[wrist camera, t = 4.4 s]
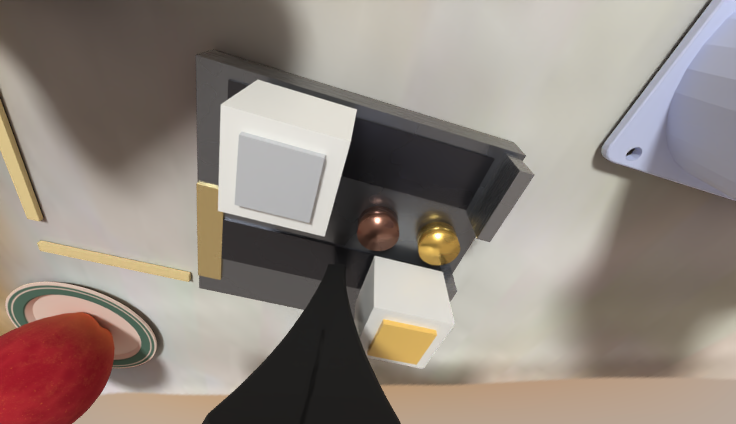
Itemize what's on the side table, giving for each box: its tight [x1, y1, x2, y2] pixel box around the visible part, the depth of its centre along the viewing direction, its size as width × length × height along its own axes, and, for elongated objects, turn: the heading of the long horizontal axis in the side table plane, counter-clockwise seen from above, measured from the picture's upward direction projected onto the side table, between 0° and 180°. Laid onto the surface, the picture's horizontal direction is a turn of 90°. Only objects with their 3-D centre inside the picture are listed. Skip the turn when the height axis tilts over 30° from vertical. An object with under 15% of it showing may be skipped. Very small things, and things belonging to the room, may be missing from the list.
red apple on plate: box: [0, 282, 157, 424], centre depth 16 cm, size 8×8×6 cm
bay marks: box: [0, 99, 191, 282], centre depth 13 cm, size 7×12×1 cm, turn 164°
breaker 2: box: [354, 256, 455, 369], centre depth 13 cm, size 3×3×3 cm
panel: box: [196, 50, 534, 319], centre depth 13 cm, size 11×10×3 cm
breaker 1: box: [218, 80, 357, 237], centre depth 9 cm, size 3×3×3 cm
